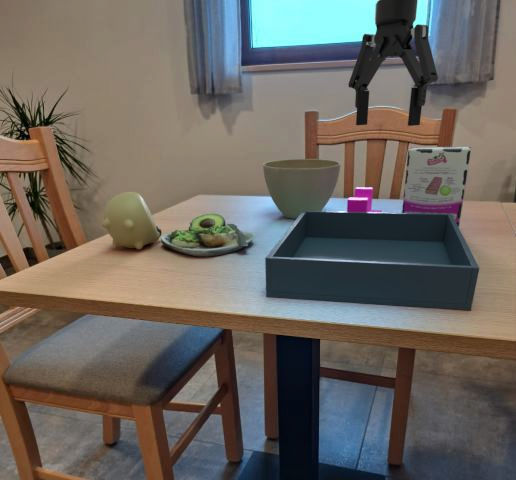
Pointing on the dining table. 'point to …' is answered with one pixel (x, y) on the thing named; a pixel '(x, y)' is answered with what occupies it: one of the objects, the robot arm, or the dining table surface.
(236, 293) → the dining table surface
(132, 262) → the dining table surface
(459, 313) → the dining table surface
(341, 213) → the bin
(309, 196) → the flower pot
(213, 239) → the salad plate
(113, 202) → the toy pig
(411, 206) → the candy bar box
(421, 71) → the robot arm
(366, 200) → the toy block
